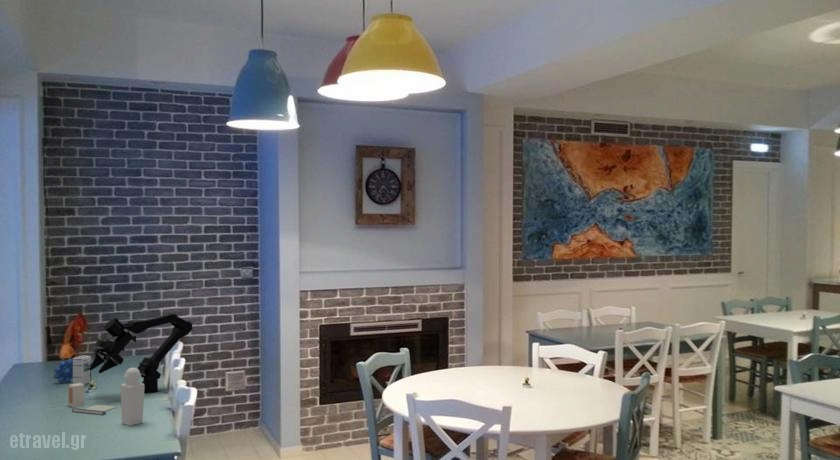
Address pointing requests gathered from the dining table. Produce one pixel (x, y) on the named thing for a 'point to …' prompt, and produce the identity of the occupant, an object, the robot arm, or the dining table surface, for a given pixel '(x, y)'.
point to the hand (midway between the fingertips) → (94, 371)
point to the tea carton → (76, 394)
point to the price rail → (89, 411)
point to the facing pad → (101, 407)
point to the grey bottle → (132, 398)
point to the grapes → (64, 371)
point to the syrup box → (82, 370)
